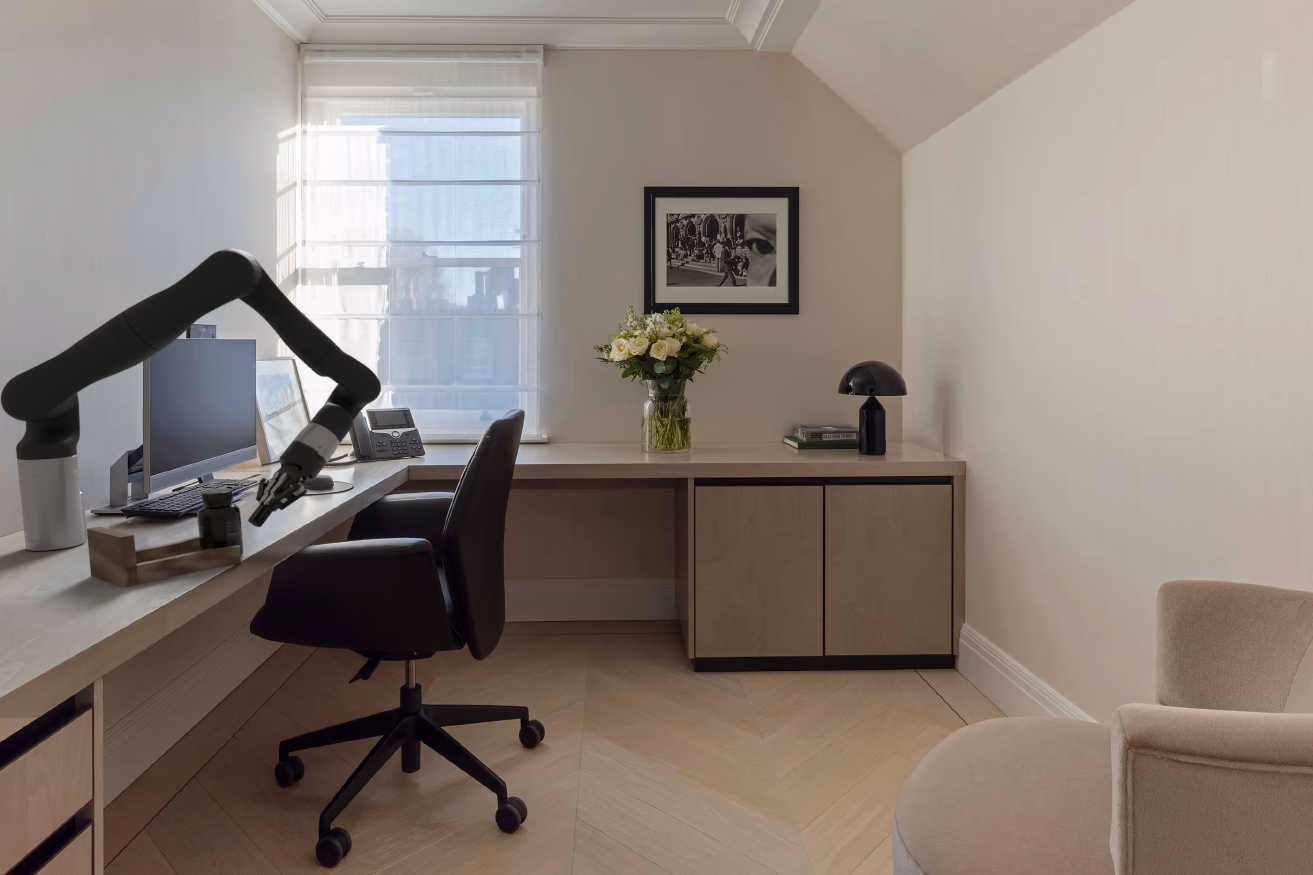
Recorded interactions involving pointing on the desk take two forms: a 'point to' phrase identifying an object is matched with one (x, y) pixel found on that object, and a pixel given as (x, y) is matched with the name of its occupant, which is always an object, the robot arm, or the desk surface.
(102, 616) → the desk surface
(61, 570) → the desk surface
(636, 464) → the desk surface
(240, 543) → the supplement bottle
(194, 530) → the desk surface
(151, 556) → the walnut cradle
